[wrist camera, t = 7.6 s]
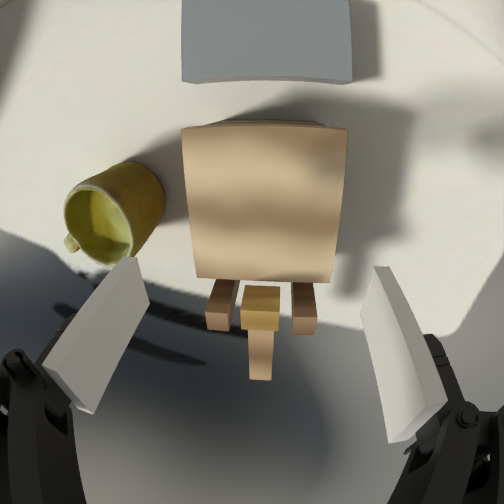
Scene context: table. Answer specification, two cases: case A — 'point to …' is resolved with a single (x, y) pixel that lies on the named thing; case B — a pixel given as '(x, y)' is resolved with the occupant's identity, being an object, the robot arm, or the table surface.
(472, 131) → the table surface
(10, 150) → the table surface
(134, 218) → the mug
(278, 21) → the block
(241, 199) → the lid
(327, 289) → the table surface
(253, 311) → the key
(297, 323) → the toolbox
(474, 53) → the table surface
